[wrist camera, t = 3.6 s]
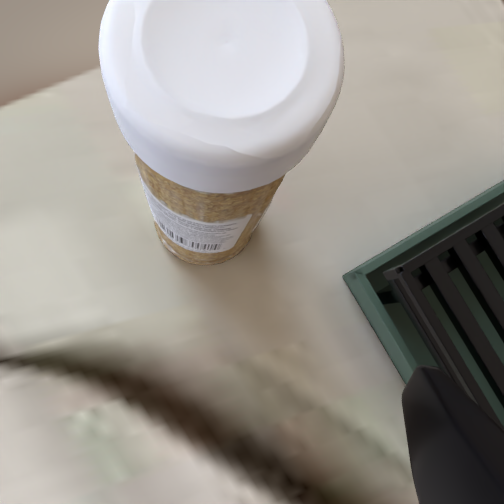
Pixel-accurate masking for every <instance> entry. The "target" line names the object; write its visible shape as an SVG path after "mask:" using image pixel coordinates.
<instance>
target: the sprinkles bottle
mask: <svg viewBox="0 0 504 504" xmlns="http://www.w3.org/2000/svg"><path fill="white" fill-rule="evenodd" d="M99 58H100V67H101V72H102V77H103V81H104V84H105V88H106V92H107V95H108V98H109V101H110V104H111V107H112V110H113V113H114V116H115V119H116V121H117V123H118V126H119V128H120V130H121V132H122V134H123V136H124V137H125V139H126V141H127V143H128V144H129V146H130V147H131V148H132V149H133V151H134V154H135V162H136V166H137V169H138V172H139V176H140V179H141V182H142V185H143V188H144V191H145V194H146V198H147V200H148V203H149V206H150V209H151V212H152V215H153V217H154V219H155V228H156V231H157V234H158V236H159V238H160V240H161V241H162V243H163V244H164V246H165V247H166V248H167V249H168V250H169V251H170V252H172V253H173V254H174V255H175V256H177V257H179V258H181V259H182V260H184V261H186V262H188V263H192V264H198V265H212V264H216V263H222V262H224V261H226V260H228V259H231V258H232V257H234V256H236V255H237V254H238V253H239V252H240V251H241V250H242V249H243V248H244V246H245V245H246V244H247V243H248V241H249V240H250V236H251V234H252V232H253V231H254V230H255V228H256V226H257V225H258V223H259V222H260V220H261V219H262V217H263V216H264V214H265V212H266V211H267V209H268V207H269V205H270V203H271V201H272V198H273V196H274V194H275V192H276V190H277V189H278V187H279V185H280V184H281V182H282V180H283V178H284V175H285V174H286V173H287V172H288V171H290V170H291V169H292V168H294V167H295V166H296V165H297V164H298V163H299V162H300V161H301V160H302V159H303V158H304V157H305V155H306V154H307V153H308V152H309V150H310V149H311V147H312V146H313V144H314V142H315V141H316V139H317V138H318V136H319V135H320V133H321V131H322V130H323V128H324V126H325V124H326V122H327V120H328V118H329V116H330V115H331V113H332V111H333V109H334V107H335V105H336V102H337V99H338V97H339V94H340V90H341V86H342V82H343V76H344V67H345V66H344V47H343V41H342V36H341V33H340V29H339V26H338V23H337V20H336V18H335V15H334V13H333V11H332V9H331V7H330V6H329V4H328V2H327V1H326V0H109V3H108V5H107V7H106V10H105V13H104V16H103V18H102V22H101V27H100V36H99Z"/></svg>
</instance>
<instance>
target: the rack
mask: <svg viewBox="0 0 504 504" xmlns="http://www.w3.org/2000/svg"><path fill="white" fill-rule="evenodd" d="M483 251H485V252H486V253H487V255H488V257H489V258H490V260H491V261H492V263H493V265H494V266H495V268H496V270H497V271H498V273H499V274H500V276H501V278H502V279H503V281H504V203H502V204H501V205H499V206H497V207H496V208H494V209H492V210H491V211H489V212H487V213H486V214H484V215H483V216H481V217H479V218H478V219H476V220H474V221H473V222H471V223H469V224H468V225H466V226H464V227H463V228H461V229H459V230H458V231H456V232H454V233H453V234H451V235H449V236H448V237H446V238H444V239H443V240H441V241H439V242H438V243H436V244H434V245H433V246H431V247H430V248H428V249H426V250H425V251H423V252H421V253H420V254H418V255H416V256H415V257H413V258H411V259H410V260H408V261H406V262H405V263H403V264H401V265H399V266H396V267H392V268H389V269H388V270H386V271H384V272H383V274H384V276H385V278H386V280H387V281H388V283H389V285H388V286H386V287H384V288H383V289H381V290H380V291H378V292H376V294H377V296H378V297H379V299H380V301H381V303H382V304H383V305H385V304H393V303H401V305H402V306H403V308H404V310H405V311H406V313H407V315H408V316H409V318H410V320H411V321H412V323H413V325H414V327H415V328H416V330H417V332H418V333H419V335H420V337H421V338H422V340H423V342H424V343H425V345H426V347H427V348H428V350H429V352H430V353H431V355H432V357H433V358H434V360H435V362H436V363H437V365H438V367H439V368H441V369H442V370H443V371H444V372H445V373H446V374H447V375H448V376H449V377H450V378H451V379H452V380H453V381H454V382H455V383H456V384H457V385H458V386H459V387H460V388H461V389H462V390H463V391H464V392H465V393H466V394H467V395H468V396H469V397H470V398H471V399H472V400H473V401H475V402H476V403H477V404H478V405H479V406H480V407H481V408H482V409H483V410H484V411H485V412H486V413H487V414H488V415H489V416H490V417H491V418H492V419H493V420H494V421H495V422H496V423H497V424H498V425H499V426H500V427H501V428H502V429H503V430H504V427H503V425H502V423H501V422H500V420H499V418H498V417H497V415H496V413H495V412H494V410H493V408H492V407H491V405H490V404H489V402H488V400H487V399H486V397H485V395H484V394H483V392H482V390H481V389H480V387H479V385H478V384H477V382H476V380H475V379H474V377H473V375H472V374H471V372H470V370H469V369H468V367H467V365H466V364H465V362H464V360H463V359H462V357H461V355H460V354H459V352H458V350H457V349H456V347H455V345H454V344H453V342H452V340H451V339H450V337H449V335H448V334H447V332H446V330H445V329H444V327H443V325H442V324H441V322H440V320H439V319H438V317H437V315H436V314H435V312H434V310H433V309H432V307H431V305H430V304H429V302H428V300H427V299H426V297H425V295H424V294H423V292H422V289H424V288H426V287H427V286H430V287H431V289H432V291H433V292H434V294H435V296H436V297H437V299H438V301H439V302H440V304H441V305H442V307H443V309H444V310H445V312H446V314H447V315H448V317H449V319H450V320H451V322H452V324H453V325H454V327H455V329H456V330H457V332H458V334H459V335H460V337H461V339H462V340H463V342H464V344H465V345H466V347H467V349H468V350H469V352H470V354H471V355H472V357H473V359H474V360H475V362H476V364H477V365H478V367H479V368H480V370H481V372H482V373H483V375H484V377H485V378H486V380H487V382H488V383H489V385H490V387H491V388H492V390H493V392H494V393H495V395H496V397H497V398H498V400H499V402H500V403H501V405H502V407H503V408H504V365H503V363H502V362H501V360H500V358H499V357H498V355H497V354H496V352H495V350H494V349H493V347H492V345H491V344H490V342H489V340H488V339H487V337H486V335H485V334H484V332H483V331H482V329H481V327H480V326H479V324H478V322H477V321H476V319H475V317H474V316H473V314H472V312H471V311H470V309H469V307H468V306H467V304H466V303H465V301H464V299H463V298H462V296H461V294H460V293H459V291H458V289H457V288H456V286H455V284H454V283H453V281H452V280H451V278H450V276H449V275H448V273H450V272H451V271H453V270H454V269H456V268H458V269H459V271H460V272H461V274H462V276H463V277H464V279H465V281H466V282H467V284H468V286H469V287H470V289H471V290H472V292H473V294H474V295H475V297H476V299H477V300H478V302H479V304H480V305H481V307H482V309H483V310H484V312H485V313H486V315H487V317H488V318H489V320H490V322H491V323H492V325H493V327H494V328H495V330H496V331H497V333H498V335H499V336H500V338H501V340H502V341H503V343H504V301H503V299H502V297H501V296H500V294H499V292H498V291H497V289H496V288H495V286H494V284H493V283H492V281H491V279H490V278H489V276H488V275H487V273H486V271H485V270H484V268H483V266H482V265H481V263H480V262H479V260H478V258H477V257H476V256H477V255H478V254H480V253H482V252H483Z"/></svg>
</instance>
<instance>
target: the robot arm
mask: <svg viewBox="0 0 504 504" xmlns="http://www.w3.org/2000/svg"><path fill="white" fill-rule="evenodd" d="M402 406H403V413H404V421H405V428H406V435H407V442H408V449H409V456H410V463H411V469H412V475H413V479H414V484H415V488H416V492H417V496H418V500H419V504H504V430H503V429H502V428H501V427H500V426H499V425H498V424H497V423H496V422H495V421H494V420H493V419H492V418H491V417H490V416H489V415H488V414H487V413H486V412H485V411H484V410H483V409H482V408H481V407H480V406H479V405H478V404H477V403H476V402H475V401H473V400H472V399H471V398H470V397H469V396H468V395H467V394H466V393H465V392H464V391H463V390H462V389H461V388H460V387H459V386H458V385H457V384H456V383H455V382H454V381H453V380H452V379H451V378H450V377H449V376H448V375H447V374H446V373H445V372H444V371H443V370H442V369H441V368H439V367H436V366H427V365H419V366H417V367H416V368H415V370H414V372H413V373H412V375H411V377H410V379H409V381H408V383H407V384H406V386H405V388H404V390H403V393H402Z"/></svg>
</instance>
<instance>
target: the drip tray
mask: <svg viewBox="0 0 504 504" xmlns="http://www.w3.org/2000/svg"><path fill="white" fill-rule="evenodd" d="M502 203H504V180H503V181H502V182H500V183H498V184H497V185H495V186H493V187H491V188H490V189H488V190H486V191H485V192H483V193H481V194H480V195H478V196H476V197H475V198H473V199H471V200H470V201H468V202H466V203H464V204H463V205H461V206H459V207H458V208H456V209H454V210H453V211H451V212H449V213H448V214H446V215H444V216H442V217H441V218H439V219H437V220H436V221H434V222H432V223H431V224H429V225H427V226H426V227H424V228H422V229H420V230H419V231H417V232H415V233H414V234H412V235H410V236H409V237H407V238H405V239H404V240H402V241H400V242H399V243H397V244H395V245H393V246H392V247H390V248H388V249H387V250H385V251H383V252H382V253H380V254H378V255H377V256H375V257H373V258H371V259H370V260H368V261H366V262H365V263H363V264H361V265H360V266H358V267H356V268H355V269H353V270H351V271H349V272H348V273H346V274H344V275H343V278H344V280H345V282H346V283H347V285H348V287H349V288H350V290H351V292H352V294H353V295H354V297H355V299H356V300H357V302H358V304H359V305H360V307H361V309H362V311H363V312H364V314H365V316H366V317H367V319H368V321H369V322H370V324H371V326H372V328H373V329H374V331H375V333H376V334H377V336H378V338H379V339H380V341H381V343H382V345H383V346H384V348H385V350H386V351H387V353H388V355H389V356H390V358H391V360H392V362H393V363H394V365H395V367H396V368H397V370H398V372H399V373H400V375H401V377H402V379H403V380H404V382H405V384H407V383H408V381H409V379H410V377H411V375H412V373H413V372H414V370H415V368H416V367H417V366H419V365H427V366H436V367H438V365H437V363H436V362H435V360H434V358H433V357H432V355H431V353H430V352H429V350H428V348H427V347H426V345H425V343H424V342H423V340H422V338H421V337H420V335H419V333H418V332H417V330H416V328H415V327H414V325H413V323H412V321H411V320H410V318H409V316H408V315H407V313H406V311H405V310H404V308H403V306H402V305H401V303H393V304H385V305H383V304H382V303H381V301H380V299H379V297H378V296H377V294H376V292H378V291H380V290H381V289H383V288H384V287H386V286H388V285H389V283H388V281H387V280H386V278H385V276H384V274H383V272H384V271H386V270H388V269H389V268H392V267H396V266H399V265H401V264H403V263H405V262H406V261H408V260H410V259H411V258H413V257H415V256H416V255H418V254H420V253H421V252H423V251H425V250H426V249H428V248H430V247H431V246H433V245H434V244H436V243H438V242H439V241H441V240H443V239H444V238H446V237H448V236H449V235H451V234H453V233H454V232H456V231H458V230H459V229H461V228H463V227H464V226H466V225H468V224H469V223H471V222H473V221H474V220H476V219H478V218H479V217H481V216H483V215H484V214H486V213H487V212H489V211H491V210H492V209H494V208H496V207H497V206H499V205H501V204H502ZM476 257H477V258H478V260H479V262H480V263H481V265H482V266H483V268H484V270H485V271H486V273H487V275H488V276H489V278H490V279H491V281H492V283H493V284H494V286H495V288H496V289H497V291H498V292H499V294H500V296H501V297H502V299H503V301H504V281H503V279H502V278H501V276H500V274H499V273H498V271H497V270H496V268H495V266H494V265H493V263H492V261H491V260H490V258H489V257H488V255H487V253H486V252H485V251H483V252H482V253H480V254H478V255H477V256H476ZM448 275H449V276H450V278H451V280H452V281H453V283H454V284H455V286H456V288H457V289H458V291H459V293H460V294H461V296H462V298H463V299H464V301H465V303H466V304H467V306H468V307H469V309H470V311H471V312H472V314H473V316H474V317H475V319H476V321H477V322H478V324H479V326H480V327H481V329H482V331H483V332H484V334H485V335H486V337H487V339H488V340H489V342H490V344H491V345H492V347H493V349H494V350H495V352H496V354H497V355H498V357H499V358H500V360H501V362H502V363H503V365H504V343H503V341H502V340H501V338H500V336H499V335H498V333H497V331H496V330H495V328H494V327H493V325H492V323H491V322H490V320H489V318H488V317H487V315H486V313H485V312H484V310H483V309H482V307H481V305H480V304H479V302H478V300H477V299H476V297H475V295H474V294H473V292H472V290H471V289H470V287H469V286H468V284H467V282H466V281H465V279H464V277H463V276H462V274H461V272H460V271H459V269H458V268H456V269H454V270H453V271H451V272H450V273H448ZM422 292H423V294H424V295H425V297H426V299H427V300H428V302H429V304H430V305H431V307H432V309H433V310H434V312H435V314H436V315H437V317H438V319H439V320H440V322H441V324H442V325H443V327H444V329H445V330H446V332H447V334H448V335H449V337H450V339H451V340H452V342H453V344H454V345H455V347H456V349H457V350H458V352H459V354H460V355H461V357H462V359H463V360H464V362H465V364H466V365H467V367H468V369H469V370H470V372H471V374H472V375H473V377H474V379H475V380H476V382H477V384H478V385H479V387H480V389H481V390H482V392H483V394H484V395H485V397H486V399H487V400H488V402H489V404H490V405H491V407H492V408H493V410H494V412H495V413H496V415H497V417H498V418H499V420H500V422H501V423H502V425H503V427H504V408H503V407H502V405H501V403H500V402H499V400H498V398H497V397H496V395H495V393H494V392H493V390H492V388H491V387H490V385H489V383H488V382H487V380H486V378H485V377H484V375H483V373H482V372H481V370H480V368H479V367H478V365H477V364H476V362H475V360H474V359H473V357H472V355H471V354H470V352H469V350H468V349H467V347H466V345H465V344H464V342H463V340H462V339H461V337H460V335H459V334H458V332H457V330H456V329H455V327H454V325H453V324H452V322H451V320H450V319H449V317H448V315H447V314H446V312H445V310H444V309H443V307H442V305H441V304H440V302H439V301H438V299H437V297H436V296H435V294H434V292H433V291H432V289H431V287H430V286H427V287H426V288H424V289H422Z"/></svg>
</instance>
